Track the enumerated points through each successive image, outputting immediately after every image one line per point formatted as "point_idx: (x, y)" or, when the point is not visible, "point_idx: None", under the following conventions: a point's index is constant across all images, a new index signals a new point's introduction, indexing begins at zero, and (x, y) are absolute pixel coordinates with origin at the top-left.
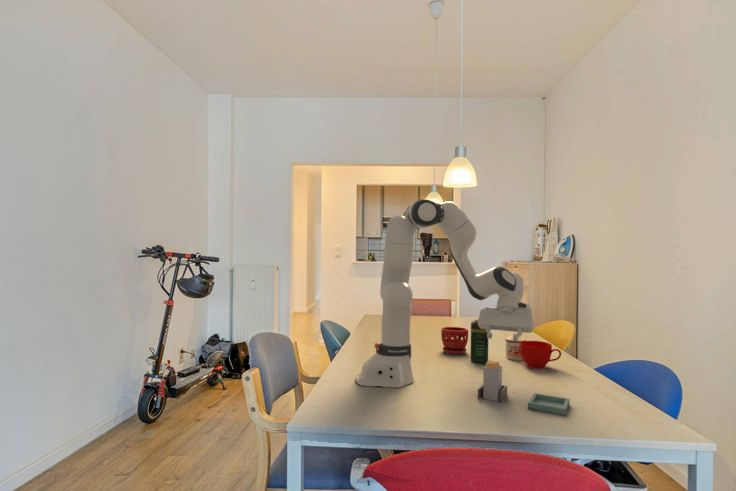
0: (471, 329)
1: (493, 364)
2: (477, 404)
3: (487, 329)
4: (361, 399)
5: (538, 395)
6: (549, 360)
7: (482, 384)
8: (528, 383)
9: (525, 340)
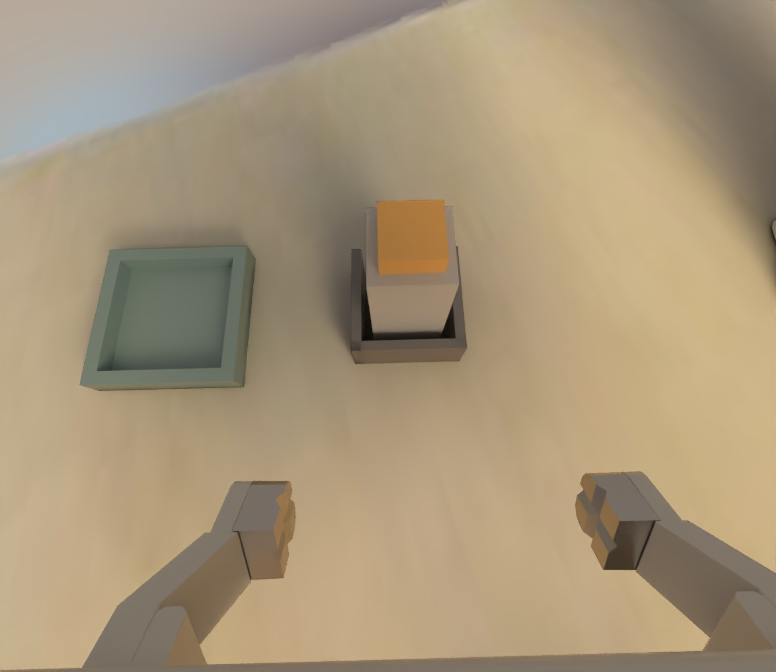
0: None
1: (396, 203)
2: None
3: (731, 562)
4: (768, 72)
5: (214, 369)
6: None
7: (461, 310)
8: None
9: None
